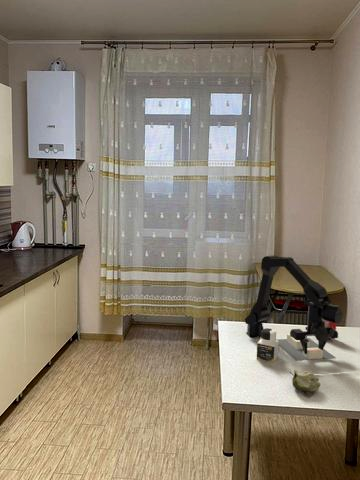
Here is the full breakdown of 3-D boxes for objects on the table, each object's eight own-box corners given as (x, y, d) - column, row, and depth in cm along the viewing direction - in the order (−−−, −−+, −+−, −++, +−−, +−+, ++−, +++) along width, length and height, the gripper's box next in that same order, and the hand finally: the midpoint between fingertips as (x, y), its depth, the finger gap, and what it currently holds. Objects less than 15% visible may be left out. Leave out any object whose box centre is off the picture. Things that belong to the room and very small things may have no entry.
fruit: (287, 395, 143) (285, 371, 143) (300, 388, 150) (298, 365, 150) (312, 399, 136) (311, 375, 137) (325, 392, 143) (323, 368, 144)
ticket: (296, 349, 179) (297, 342, 178) (286, 340, 189) (287, 334, 188) (309, 348, 180) (310, 341, 180) (299, 340, 190) (299, 333, 189)
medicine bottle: (256, 359, 169) (257, 330, 167) (261, 353, 175) (262, 325, 173) (273, 363, 165) (275, 334, 164) (278, 356, 172) (279, 328, 170)
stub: (308, 359, 169) (309, 351, 168) (302, 354, 173) (303, 347, 173) (322, 358, 170) (323, 351, 169) (316, 353, 175) (316, 346, 174)
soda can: (337, 342, 189) (339, 316, 187) (321, 342, 189) (323, 316, 187) (332, 336, 196) (333, 312, 194) (317, 336, 196) (318, 311, 194)
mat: (295, 361, 167) (295, 360, 167) (272, 340, 189) (272, 339, 189) (336, 359, 170) (336, 358, 170) (308, 338, 193) (309, 337, 193)
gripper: (303, 324, 160) (301, 363, 162) (347, 322, 163) (344, 360, 165) (290, 315, 171) (288, 351, 173) (331, 313, 174) (329, 349, 176)
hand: (312, 353), depth 171 cm, fingers closed on stub, 6 cm apart
